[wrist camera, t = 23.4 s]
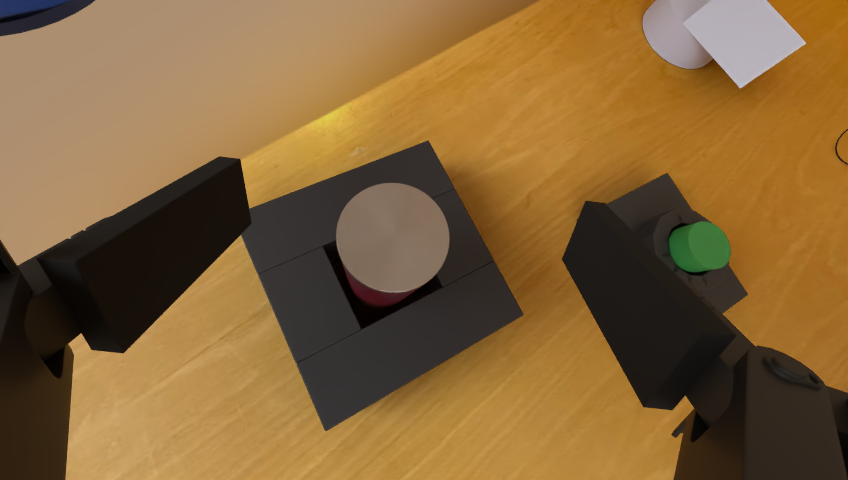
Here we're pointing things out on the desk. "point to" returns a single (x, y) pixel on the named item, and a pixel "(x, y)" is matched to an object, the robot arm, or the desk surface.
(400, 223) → the dark red cylinder
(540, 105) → the desk surface
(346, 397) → the square peg hole block
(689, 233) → the button
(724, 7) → the wedge on round base
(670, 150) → the desk surface
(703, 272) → the panel
